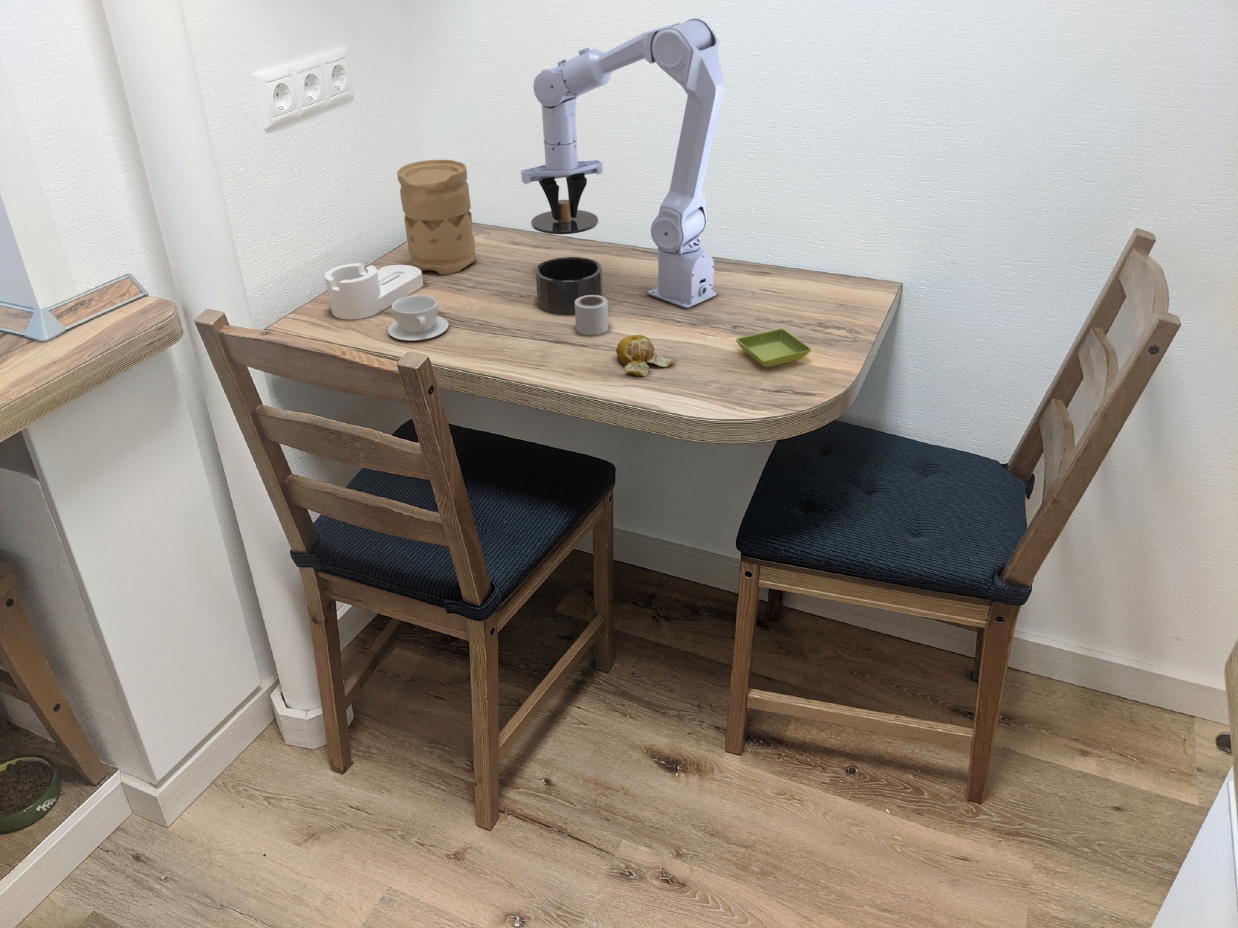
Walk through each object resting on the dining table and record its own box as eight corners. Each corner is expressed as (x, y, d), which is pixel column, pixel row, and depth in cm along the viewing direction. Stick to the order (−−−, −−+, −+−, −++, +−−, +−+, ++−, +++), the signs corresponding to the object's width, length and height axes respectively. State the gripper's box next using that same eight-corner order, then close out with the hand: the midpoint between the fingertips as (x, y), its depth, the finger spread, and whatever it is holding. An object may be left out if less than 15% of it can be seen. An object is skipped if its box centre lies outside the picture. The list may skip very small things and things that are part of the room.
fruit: (633, 380, 143) (633, 357, 141) (602, 360, 148) (601, 338, 146) (677, 364, 146) (677, 342, 144) (645, 345, 152) (645, 324, 150)
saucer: (762, 373, 143) (763, 361, 142) (733, 350, 150) (734, 338, 149) (812, 361, 146) (813, 349, 145) (781, 339, 153) (782, 327, 152)
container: (471, 274, 179) (460, 178, 170) (405, 275, 180) (390, 180, 170) (480, 250, 190) (470, 158, 180) (417, 251, 190) (404, 160, 180)
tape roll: (615, 328, 158) (614, 300, 155) (591, 338, 155) (590, 310, 152) (593, 318, 161) (591, 291, 159) (569, 329, 158) (567, 301, 156)
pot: (616, 300, 168) (615, 268, 164) (567, 320, 161) (565, 287, 158) (572, 283, 174) (570, 252, 171) (524, 302, 168) (521, 270, 165)
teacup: (382, 324, 162) (378, 298, 159) (440, 313, 165) (436, 287, 162) (395, 347, 154) (391, 321, 151) (455, 335, 157) (452, 309, 154)
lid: (612, 225, 174) (611, 200, 172) (562, 242, 167) (560, 217, 165) (567, 211, 182) (566, 187, 179) (517, 227, 175) (515, 202, 172)
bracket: (360, 323, 162) (353, 286, 159) (321, 314, 166) (313, 278, 162) (431, 281, 177) (426, 246, 173) (393, 274, 180) (388, 240, 177)
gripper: (592, 131, 171) (595, 205, 179) (513, 140, 167) (520, 216, 175) (605, 140, 166) (607, 217, 173) (525, 150, 162) (531, 228, 169)
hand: (564, 217), depth 174 cm, fingers closed on lid, 2 cm apart
